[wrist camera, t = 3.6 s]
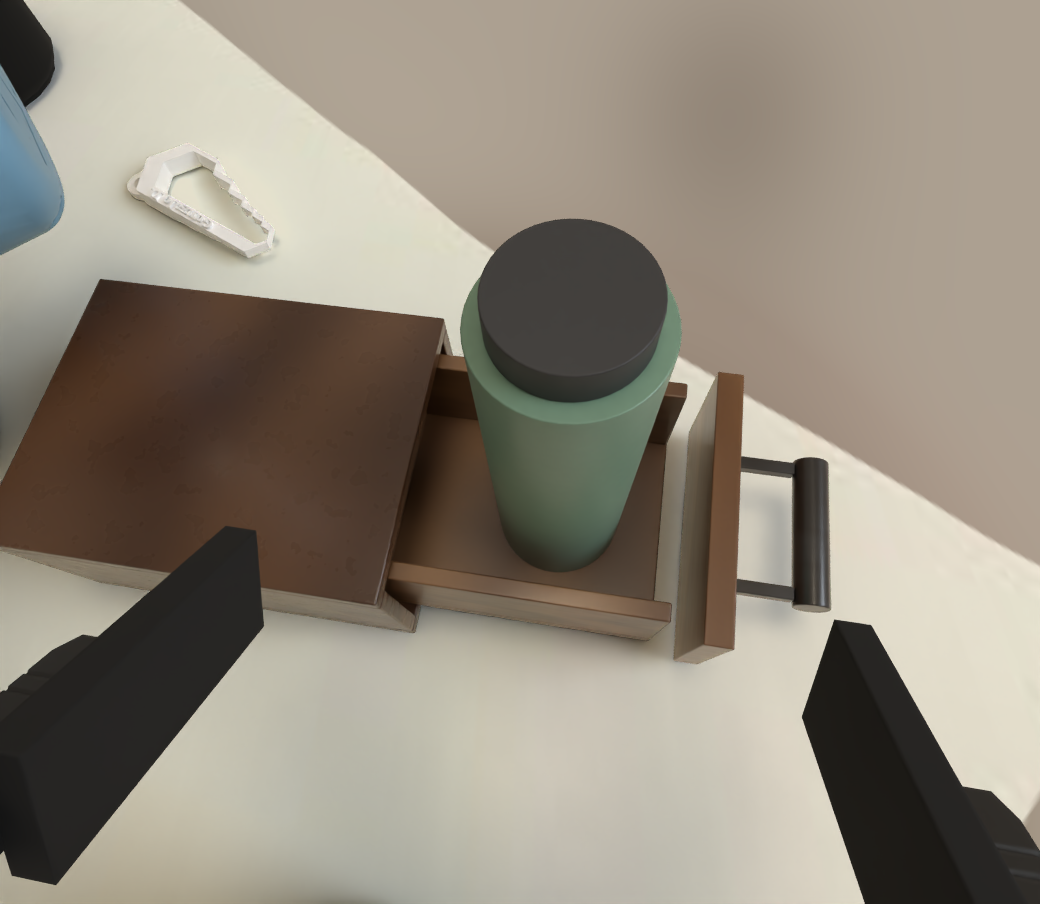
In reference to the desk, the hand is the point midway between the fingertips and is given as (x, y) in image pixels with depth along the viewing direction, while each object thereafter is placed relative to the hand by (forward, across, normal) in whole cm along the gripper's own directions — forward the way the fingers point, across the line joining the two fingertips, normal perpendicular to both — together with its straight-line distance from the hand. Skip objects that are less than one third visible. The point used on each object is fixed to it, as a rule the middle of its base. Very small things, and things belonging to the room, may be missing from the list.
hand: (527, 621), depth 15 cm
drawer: (+19, +2, -7) cm, 20 cm away
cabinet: (+19, -15, -8) cm, 26 cm away
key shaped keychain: (+33, -27, +5) cm, 43 cm away
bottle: (+18, 0, -7) cm, 19 cm away
